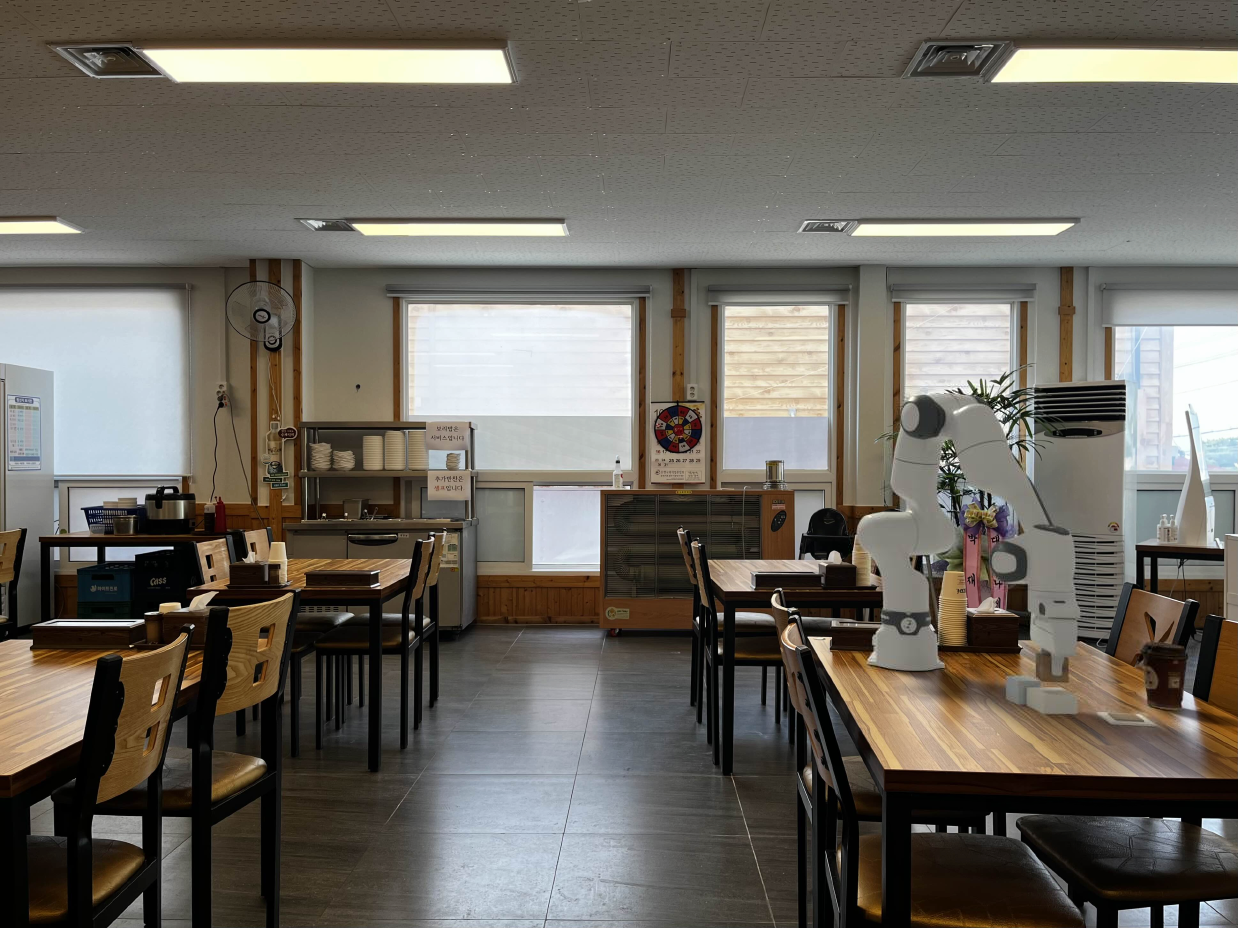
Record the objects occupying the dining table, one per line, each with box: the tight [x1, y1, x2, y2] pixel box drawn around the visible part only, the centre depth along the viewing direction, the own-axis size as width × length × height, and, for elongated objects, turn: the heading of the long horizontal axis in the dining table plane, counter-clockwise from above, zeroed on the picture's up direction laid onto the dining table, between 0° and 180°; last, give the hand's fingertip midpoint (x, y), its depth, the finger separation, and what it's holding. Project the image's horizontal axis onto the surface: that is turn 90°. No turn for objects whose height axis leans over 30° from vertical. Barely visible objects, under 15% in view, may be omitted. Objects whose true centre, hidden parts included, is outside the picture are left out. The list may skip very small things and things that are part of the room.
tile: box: [1096, 711, 1157, 727], centre depth 178 cm, size 8×8×1 cm
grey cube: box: [1005, 675, 1042, 706], centre depth 193 cm, size 5×5×5 cm
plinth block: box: [1026, 686, 1078, 715], centre depth 186 cm, size 7×7×4 cm
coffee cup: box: [1139, 641, 1190, 711], centre depth 190 cm, size 9×8×13 cm
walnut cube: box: [1035, 652, 1070, 684], centre depth 186 cm, size 5×5×5 cm
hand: (1051, 671), depth 186 cm, fingers closed on walnut cube, 5 cm apart
